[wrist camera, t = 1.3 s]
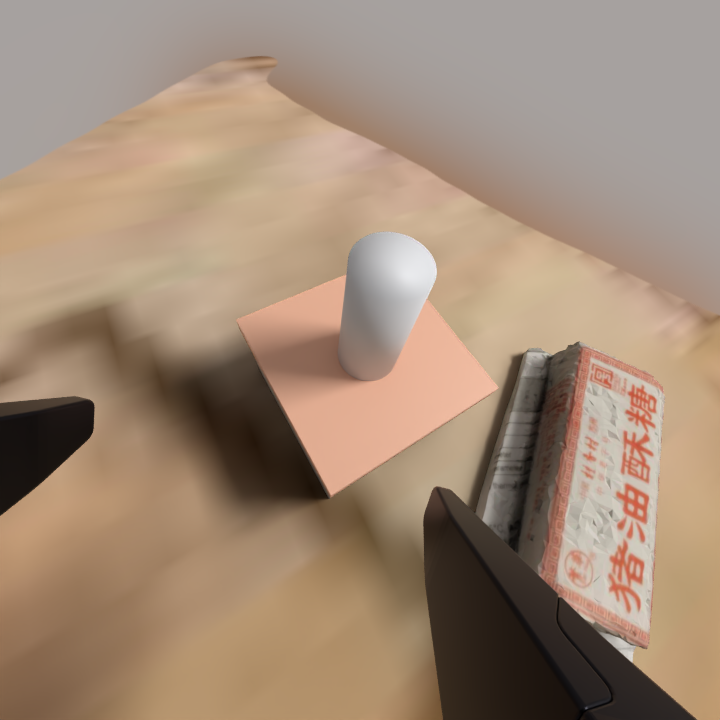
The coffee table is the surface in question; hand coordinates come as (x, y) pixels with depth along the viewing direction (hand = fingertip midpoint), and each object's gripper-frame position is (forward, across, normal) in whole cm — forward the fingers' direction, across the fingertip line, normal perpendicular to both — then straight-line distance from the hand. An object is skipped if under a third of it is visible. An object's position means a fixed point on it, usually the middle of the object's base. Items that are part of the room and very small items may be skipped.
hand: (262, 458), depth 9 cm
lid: (+12, -2, 0) cm, 12 cm away
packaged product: (+14, -17, +6) cm, 22 cm away
